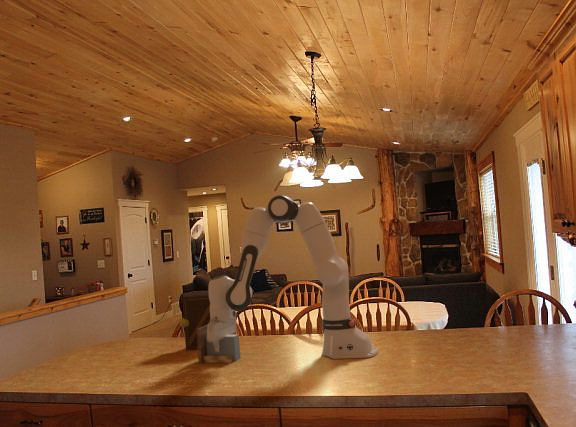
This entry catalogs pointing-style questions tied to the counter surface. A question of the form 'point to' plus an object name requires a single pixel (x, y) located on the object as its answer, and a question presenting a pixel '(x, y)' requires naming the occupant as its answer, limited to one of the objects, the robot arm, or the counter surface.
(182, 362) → the counter surface
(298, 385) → the counter surface
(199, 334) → the wooden display stand
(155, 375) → the counter surface
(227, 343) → the box book
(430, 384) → the counter surface
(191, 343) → the book
